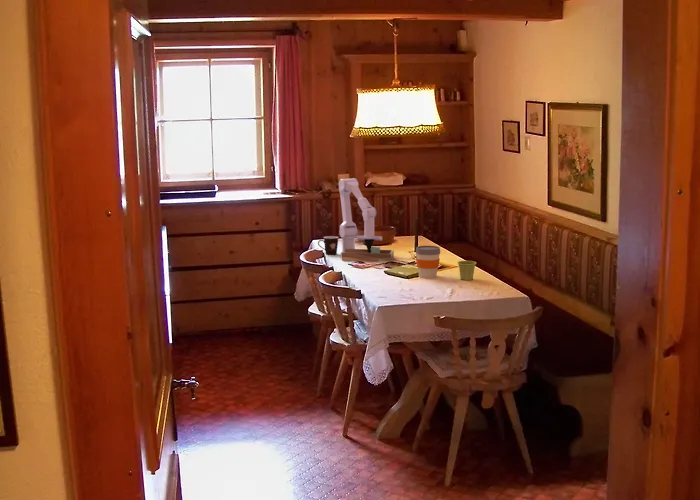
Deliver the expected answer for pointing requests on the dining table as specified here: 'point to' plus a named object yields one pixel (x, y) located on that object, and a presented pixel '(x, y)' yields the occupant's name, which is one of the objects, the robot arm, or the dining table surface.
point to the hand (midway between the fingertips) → (369, 252)
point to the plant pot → (466, 269)
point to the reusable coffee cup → (427, 261)
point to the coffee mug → (330, 245)
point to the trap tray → (367, 255)
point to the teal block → (375, 249)
